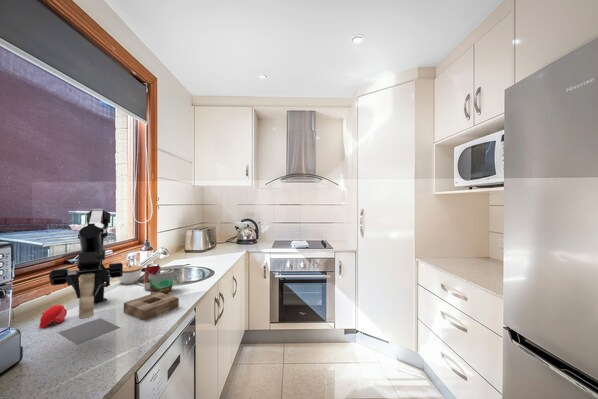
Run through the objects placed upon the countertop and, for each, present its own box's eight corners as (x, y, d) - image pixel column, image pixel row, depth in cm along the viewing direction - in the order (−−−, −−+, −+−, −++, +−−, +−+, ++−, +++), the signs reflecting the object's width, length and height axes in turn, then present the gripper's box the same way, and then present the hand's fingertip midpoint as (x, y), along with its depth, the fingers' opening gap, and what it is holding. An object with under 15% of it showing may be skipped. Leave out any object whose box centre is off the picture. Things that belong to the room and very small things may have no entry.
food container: (154, 298, 112) (155, 276, 113) (147, 295, 116) (147, 274, 116) (179, 290, 123) (180, 270, 123) (172, 288, 126) (173, 268, 126)
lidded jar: (146, 280, 138) (146, 263, 138) (128, 286, 127) (129, 268, 127) (130, 278, 140) (130, 261, 140) (111, 284, 130) (112, 266, 130)
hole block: (123, 312, 98) (123, 302, 98) (157, 300, 110) (158, 291, 110) (144, 321, 91) (144, 310, 91) (178, 307, 104) (178, 298, 104)
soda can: (152, 291, 121) (153, 266, 121) (141, 290, 123) (141, 265, 123) (163, 286, 128) (163, 263, 128) (151, 285, 129) (152, 262, 129)
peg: (76, 317, 80) (77, 275, 80) (90, 312, 83) (91, 272, 83) (82, 319, 78) (83, 276, 78) (95, 315, 81) (96, 274, 81)
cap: (56, 308, 93) (39, 306, 88) (71, 304, 93) (54, 301, 88) (49, 332, 89) (31, 330, 84) (64, 327, 89) (47, 325, 84)
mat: (57, 333, 82) (57, 332, 82) (99, 318, 93) (100, 317, 93) (77, 346, 76) (77, 344, 76) (120, 328, 86) (120, 327, 86)
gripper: (51, 244, 79) (40, 289, 69) (123, 240, 89) (122, 278, 80) (56, 263, 85) (47, 307, 76) (122, 257, 96) (121, 295, 87)
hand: (86, 296), depth 79 cm, fingers closed on peg, 4 cm apart
